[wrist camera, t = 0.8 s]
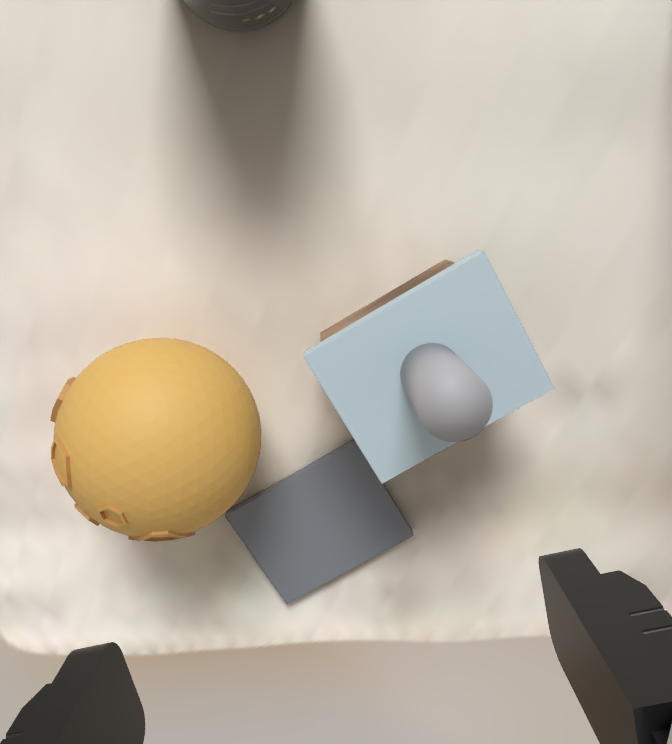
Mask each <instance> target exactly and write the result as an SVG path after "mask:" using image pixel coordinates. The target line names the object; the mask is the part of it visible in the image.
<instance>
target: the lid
mask: <svg viewBox="0 0 672 744" xmlns="http://www.w3.org/2000/svg"><path fill="white" fill-rule="evenodd" d="M304 359H305V361H306V362H307V364H308V365H309V367H310V369H311V370H312V372H313V374H314V375H315V377H316V378H317V380H318V382H319V383H320V385H321V386H322V388H323V390H324V391H325V393H326V395H327V396H328V398H329V399H330V401H331V403H332V404H333V406H334V407H335V409H336V411H337V412H338V414H339V416H340V417H341V419H342V420H343V422H344V424H345V425H346V427H347V428H348V430H349V432H350V433H351V435H352V436H353V438H354V440H355V441H356V443H357V445H358V446H359V448H360V449H361V451H362V453H363V454H364V456H365V457H366V459H367V461H368V462H369V464H370V466H371V467H372V469H373V470H374V472H375V474H376V475H377V477H378V478H379V480H380V482H381V483H382V484H383V483H384V482H386V481H388V480H390V479H392V478H393V477H395V476H397V475H399V474H401V473H402V472H404V471H406V470H408V469H410V468H411V467H413V466H415V465H417V464H419V463H420V462H422V461H424V460H426V459H428V458H430V457H431V456H433V455H435V454H437V453H439V452H440V451H442V450H444V449H446V448H448V447H449V446H451V445H453V444H455V443H457V442H460V441H465V440H468V439H470V438H472V437H474V436H475V435H477V434H478V433H479V432H481V431H482V430H483V428H484V427H486V426H487V425H489V424H491V423H493V422H495V421H496V420H498V419H500V418H502V417H504V416H505V415H507V414H509V413H511V412H513V411H514V410H516V409H518V408H520V407H522V406H523V405H525V404H527V403H529V402H531V401H532V400H534V399H536V398H538V397H540V396H542V395H543V394H545V393H547V392H549V391H551V390H552V389H554V388H555V387H554V385H553V383H552V382H551V380H550V378H549V376H548V374H547V372H546V370H545V368H544V366H543V364H542V362H541V360H540V358H539V356H538V354H537V353H536V351H535V349H534V347H533V345H532V343H531V341H530V339H529V337H528V335H527V333H526V331H525V329H524V327H523V326H522V324H521V322H520V320H519V318H518V316H517V314H516V312H515V310H514V308H513V306H512V304H511V302H510V300H509V298H508V297H507V295H506V293H505V291H504V289H503V287H502V285H501V283H500V281H499V279H498V277H497V275H496V273H495V271H494V269H493V268H492V266H491V264H490V262H489V260H488V258H487V256H486V254H485V252H484V251H479V250H477V251H475V252H473V253H472V254H470V255H468V256H466V257H465V258H463V259H461V260H460V261H458V262H456V263H454V264H453V265H451V266H449V267H448V268H446V269H444V270H443V271H441V272H439V273H437V274H436V275H434V276H432V277H431V278H429V279H427V280H425V281H424V282H422V283H420V284H419V285H417V286H415V287H414V288H412V289H410V290H408V291H407V292H405V293H403V294H402V295H400V296H398V297H396V298H395V299H393V300H391V301H390V302H388V303H386V304H385V305H383V306H381V307H379V308H378V309H376V310H374V311H373V312H371V313H369V314H367V315H366V316H364V317H362V318H361V319H359V320H357V321H355V322H354V323H352V324H350V325H349V326H347V327H345V328H344V329H342V330H340V331H338V332H337V333H335V334H333V335H332V336H330V337H328V338H326V339H325V340H323V341H321V342H320V343H318V344H316V345H315V346H313V347H311V348H309V349H308V350H306V351H304Z"/></svg>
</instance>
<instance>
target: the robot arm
mask: <svg viewBox="0 0 672 744" xmlns="http://www.w3.org/2000/svg"><path fill="white" fill-rule="evenodd" d="M539 569H540V575H541V581H542V587H543V593H544V599H545V606H546V612H547V618H548V624H549V629H550V634H551V638H552V641H553V645H554V648H555V651H556V653H557V657H558V659H559V662H560V664H561V666H562V668H563V670H564V672H565V674H566V676H567V678H568V680H569V682H570V684H571V686H572V688H573V690H574V692H575V694H576V696H577V698H578V700H579V702H580V704H581V706H582V708H583V710H584V712H585V714H586V716H587V718H588V720H589V722H590V724H591V726H592V728H593V731H594V732H595V734H596V736H597V739H598V740H599V742H600V744H672V617H671V615H670V614H669V613H668V612H667V611H665V610H664V608H663V606H662V605H661V603H660V602H659V601H658V600H657V598H656V597H655V596H654V595H653V594H652V592H651V591H650V590H649V589H648V588H647V586H646V585H644V584H642V583H641V582H639V581H637V580H635V579H634V578H632V577H630V576H628V575H627V574H625V573H623V572H621V571H620V570H619V571H614V572H609V573H604V574H600V573H599V572H598V570H597V569H596V567H595V566H594V565H593V563H592V562H591V560H590V559H589V558H588V556H587V555H586V554H585V552H584V551H583V550H582V549H580V548H578V549H573V550H568V551H564V552H559V553H554V554H549V555H544V556H540V557H539ZM144 735H145V717H144V711H143V707H142V704H141V702H140V698H139V696H138V693H137V691H136V688H135V685H134V683H133V680H132V677H131V675H130V672H129V669H128V667H127V664H126V662H125V659H124V656H123V653H122V651H121V649H120V647H119V646H118V645H117V644H116V643H114V642H111V643H106V644H101V645H96V646H91V647H86V648H82V649H77V650H73V651H72V652H71V653H70V654H69V655H68V657H67V658H66V660H65V662H64V664H63V666H62V667H61V669H60V670H59V672H58V674H57V675H56V677H55V679H54V680H53V682H52V683H51V684H46V685H45V686H44V687H43V688H42V689H41V690H40V691H39V692H38V693H37V694H36V695H35V696H34V697H33V698H32V699H31V700H30V701H29V702H28V703H27V704H26V705H25V706H24V707H23V708H22V709H21V711H20V712H19V714H18V716H17V717H16V719H15V720H14V722H13V724H12V725H11V727H10V728H9V730H8V732H7V733H6V739H3V740H2V741H1V743H0V744H143V741H144Z"/></svg>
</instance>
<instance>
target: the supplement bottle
mask: <svg viewBox="0 0 672 744" xmlns="http://www.w3.org/2000/svg"><path fill="white" fill-rule="evenodd" d="M183 1H184V3H185V4H186V5H187V6H188V7H189V8H190V9H191V10H192V11H193V12H194V13H195V14H196V15H197V16H199V17H200V18H201V19H203V20H205V21H206V22H208V23H210V24H212V25H214V26H217V27H219V28H222V29H227V30H233V31H246V30H252V29H256V28H260V27H262V26H264V25H267V24H269V23H270V22H272V21H274V20H275V19H276V18H278V17H279V16H280V15H281V14H282V13H283V12H284V11H285V10H286V9H287V8H288V7H289V6H290V4H291V3H292V1H293V0H183Z"/></svg>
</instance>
